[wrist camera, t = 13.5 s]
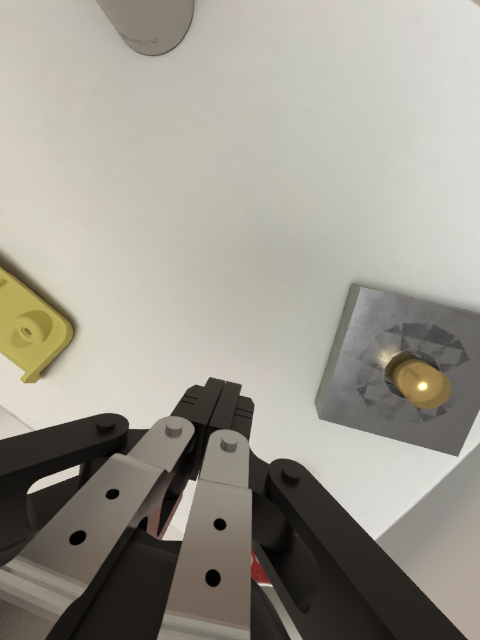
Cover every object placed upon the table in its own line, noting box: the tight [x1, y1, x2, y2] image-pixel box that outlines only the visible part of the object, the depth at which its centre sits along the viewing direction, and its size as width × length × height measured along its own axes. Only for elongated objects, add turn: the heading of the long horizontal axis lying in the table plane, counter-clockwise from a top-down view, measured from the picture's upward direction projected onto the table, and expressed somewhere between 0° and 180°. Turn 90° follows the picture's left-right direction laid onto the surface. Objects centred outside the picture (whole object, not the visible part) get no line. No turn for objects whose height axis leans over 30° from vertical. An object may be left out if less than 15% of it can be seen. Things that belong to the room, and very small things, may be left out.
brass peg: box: [384, 350, 451, 409], centre depth 32 cm, size 4×4×8 cm
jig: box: [315, 284, 480, 457], centre depth 33 cm, size 16×16×4 cm
